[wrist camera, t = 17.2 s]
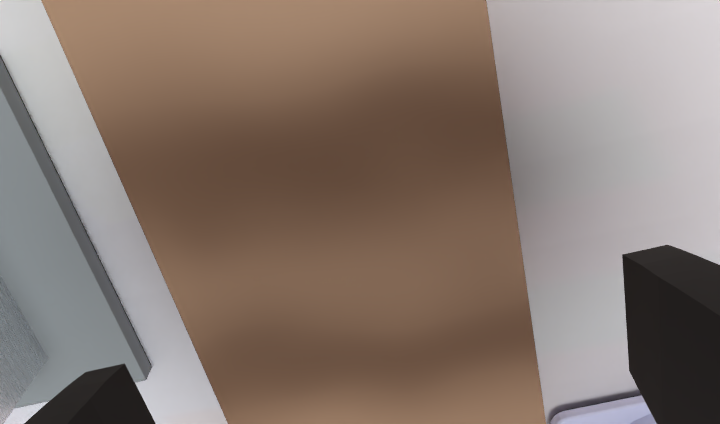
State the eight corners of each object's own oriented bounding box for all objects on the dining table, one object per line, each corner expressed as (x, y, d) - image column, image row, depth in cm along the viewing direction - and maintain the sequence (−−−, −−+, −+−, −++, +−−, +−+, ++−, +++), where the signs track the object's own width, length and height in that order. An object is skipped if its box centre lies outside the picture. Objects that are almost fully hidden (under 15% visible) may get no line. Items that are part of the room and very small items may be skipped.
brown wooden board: (531, 411, 20) (550, 458, 18) (274, 463, 21) (268, 514, 19) (396, -476, 11) (407, -556, 9) (-56, -335, 12) (-128, -384, 10)
